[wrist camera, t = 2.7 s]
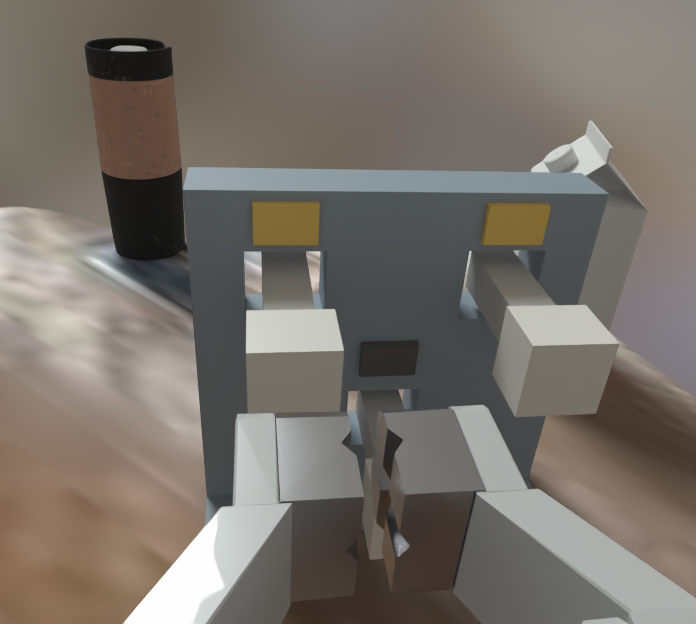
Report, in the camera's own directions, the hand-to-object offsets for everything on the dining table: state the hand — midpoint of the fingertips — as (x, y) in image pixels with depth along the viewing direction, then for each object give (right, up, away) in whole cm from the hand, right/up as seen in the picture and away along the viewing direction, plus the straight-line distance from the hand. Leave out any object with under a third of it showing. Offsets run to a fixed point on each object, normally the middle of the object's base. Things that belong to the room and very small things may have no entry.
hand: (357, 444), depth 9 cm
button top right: (+8, 0, +22) cm, 23 cm away
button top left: (-3, 0, +20) cm, 21 cm away
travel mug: (-21, +9, +59) cm, 63 cm away
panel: (+1, -9, +32) cm, 33 cm away
